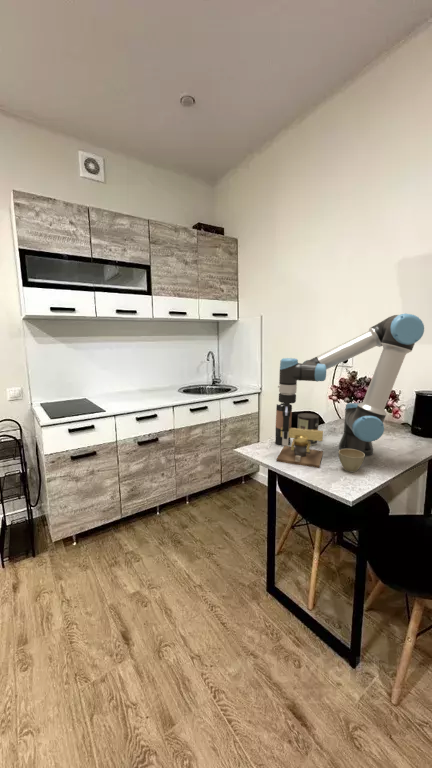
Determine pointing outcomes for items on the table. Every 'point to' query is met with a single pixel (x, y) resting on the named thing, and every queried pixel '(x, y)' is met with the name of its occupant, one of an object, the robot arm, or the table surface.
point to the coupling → (303, 437)
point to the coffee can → (308, 423)
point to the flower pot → (351, 459)
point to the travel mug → (281, 424)
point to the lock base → (304, 460)
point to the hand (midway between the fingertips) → (285, 444)
